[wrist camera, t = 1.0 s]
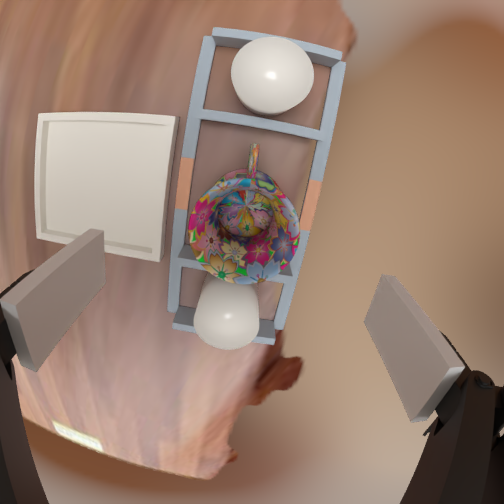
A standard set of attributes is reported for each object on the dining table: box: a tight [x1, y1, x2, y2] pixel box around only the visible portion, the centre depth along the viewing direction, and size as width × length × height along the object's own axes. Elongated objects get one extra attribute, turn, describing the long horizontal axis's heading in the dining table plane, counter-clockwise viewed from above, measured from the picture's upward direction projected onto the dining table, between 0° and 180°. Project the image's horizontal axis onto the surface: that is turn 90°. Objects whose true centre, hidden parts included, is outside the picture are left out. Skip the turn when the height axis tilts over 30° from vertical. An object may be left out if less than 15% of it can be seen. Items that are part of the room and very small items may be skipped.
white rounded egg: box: [194, 273, 259, 350], centre depth 35 cm, size 7×7×8 cm
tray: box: [35, 112, 180, 262], centre depth 32 cm, size 19×17×2 cm
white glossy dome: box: [231, 37, 314, 116], centre depth 26 cm, size 7×7×8 cm
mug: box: [188, 143, 300, 284], centre depth 29 cm, size 12×9×11 cm
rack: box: [167, 27, 346, 345], centre depth 32 cm, size 16×35×4 cm, turn 170°
